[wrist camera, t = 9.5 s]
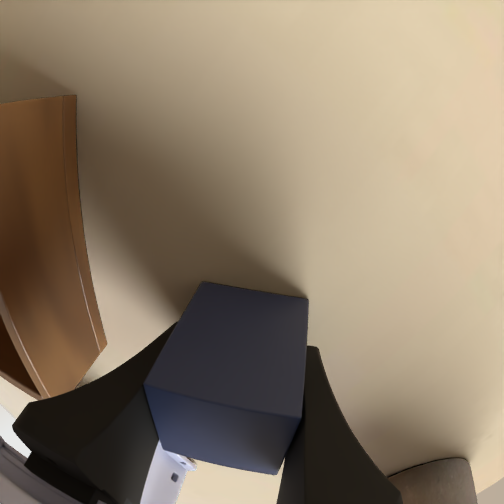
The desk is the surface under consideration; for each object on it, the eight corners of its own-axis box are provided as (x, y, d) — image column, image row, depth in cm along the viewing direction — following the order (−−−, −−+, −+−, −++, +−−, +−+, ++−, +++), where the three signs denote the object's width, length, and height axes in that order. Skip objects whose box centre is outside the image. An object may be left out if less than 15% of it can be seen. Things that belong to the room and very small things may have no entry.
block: (291, 371, 13) (276, 475, 9) (202, 355, 14) (162, 450, 9) (309, 298, 12) (301, 418, 7) (201, 280, 12) (142, 383, 7)
